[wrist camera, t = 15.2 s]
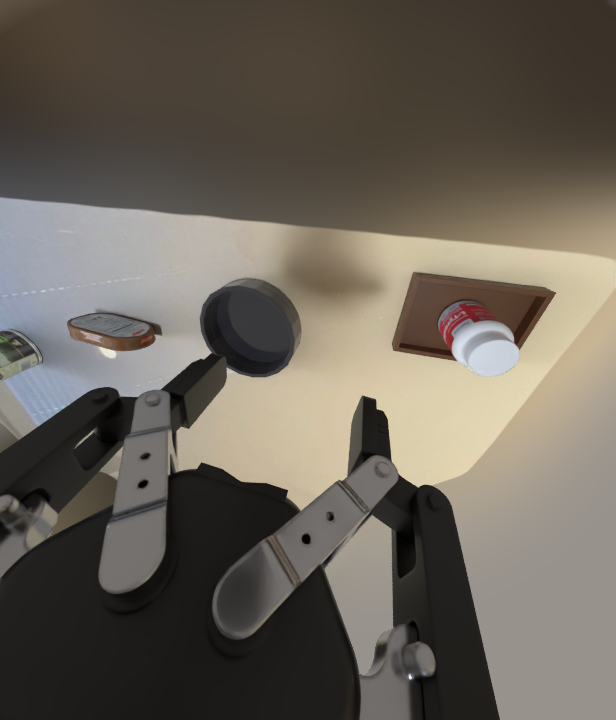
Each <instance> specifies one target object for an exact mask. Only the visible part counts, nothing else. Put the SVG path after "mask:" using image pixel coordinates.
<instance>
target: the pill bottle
mask: <svg viewBox="0 0 616 720" xmlns="http://www.w3.org/2000/svg"><path fill="white" fill-rule="evenodd" d="M438 328H439V331H440V333H441V335H442V337H443V338H444V340H445V342H446V344H447V345H448V347H449V349H450V351H451V352H452V354H453V356H454V357H455V359H456V360H457V361H458V362H459V363H460V364H462V365H464V366H466V367H469V368H470V370H471V371H472V372H474V373H475V374H477V375H480V376H484V377H493V376H498V375H501V374H504V373H506V372H508V371H509V370H511V369H512V368H513V367H514V366H515V365H516V364H517V362H518V360H519V357H520V351H519V349H518V347H517V346H516V345H515V344H514V336H513V333H512V332H511V330H510V329H509V328H508V327H507V326H506V325H505V324H504V323H502V322H501V321H500V320H499V319H498V318H497V317H495V316H494V315H493V314H492V313H491V312H490V311H488V310H487V309H486V308H485V307H484V306H482V305H481V304H479V303H477V302H475V301H460V302H456V303H454V304H452V305H450V306H449V307H448V308H446V309H445V310H444V311H443V313H442V314H441V316H440V318H439V321H438Z"/></svg>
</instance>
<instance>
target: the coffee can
mask: <svg viewBox="0 0 616 720" xmlns="http://www.w3.org/2000/svg"><path fill="white" fill-rule="evenodd" d="M41 362H42V356H41V354H40V351H39V350H38V349H37V347H36V346H35V345H34V344H33V343H32V342H31V341H30V340H29V339H28V338H27V337H25V336H24V335H22V334H21V333H19V332H17V331H15V330H11V329H6V330H4V331H1V332H0V381H3V380H5V379H7V378H9V377H11V376H14V375H16V374H18V373H20V372H22V371H24V370H27V369H29V368H31V367H33V366H35V365H38V364H40V363H41Z"/></svg>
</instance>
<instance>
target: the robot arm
mask: <svg viewBox="0 0 616 720" xmlns="http://www.w3.org/2000/svg"><path fill="white" fill-rule="evenodd" d="M226 378H227V370H226V357H225V356H221V355H218V354H214V353H211V354H210V355H209V356H208V357H207V358H205V359H204V360H203V359H200V360H197V361H195V362H193V363H191V364H190V365H189V366H188V367H187V368H186V369H184V370H183V371H182V372H181V373H180V374H178V375H177V376H176V377H175V378H174V379H173V380H171V381H170V382H169V383H168V384H167V385H166V386H164V387H163V388H162V389H161V390H151V391H148V392H145V393H143V394H141V395H140V396H139V397H120V395H119V393H118V391H117V390H116V389H114V388H110V387H103V388H97V389H94V390H91V391H89V392H87V393H86V394H84V395H83V396H81V397H80V398H78V399H77V400H76V401H74V402H73V403H71V404H70V405H68V406H67V407H66V408H64V409H63V410H61V411H60V412H59V413H57V414H56V415H54V416H53V417H51V418H50V419H49V420H47V421H46V422H44V423H43V424H41V425H40V426H39V427H37V428H36V429H34V430H33V431H31V432H30V433H29V434H27V435H26V436H24V437H23V438H21V439H20V440H19V441H17V442H16V443H14V444H13V445H11V446H10V447H9V448H7V449H6V450H4V451H3V452H1V453H0V720H500V718H499V714H498V710H497V705H496V701H495V696H494V692H493V687H492V683H491V678H490V674H489V670H488V665H487V661H486V656H485V652H484V647H483V643H482V638H481V634H480V630H479V626H478V621H477V616H476V612H475V608H474V603H473V599H472V594H471V590H470V585H469V581H468V577H467V572H466V567H465V563H464V559H463V554H462V550H461V545H460V541H459V536H458V532H457V527H456V524H455V519H454V514H453V510H452V506H451V504H450V502H449V500H448V499H447V497H446V496H445V495H444V494H443V493H442V492H441V491H440V490H438V489H437V488H435V487H433V486H430V485H422V486H420V487H419V488H418V487H416V486H415V485H413V484H412V483H410V482H408V481H407V480H405V479H404V478H402V477H401V476H400V475H399V474H398V471H397V468H396V467H395V465H394V464H393V463H392V460H391V450H390V439H389V429H388V419H387V417H386V415H385V413H384V412H383V411H381V410H377V409H376V399H373V398H369V397H366V396H362V397H361V399H360V401H359V404H358V406H357V409H356V411H355V413H354V416H353V420H352V425H351V437H350V450H349V462H348V475H347V478H345V479H344V480H343V481H341V480H338V481H337V482H335V483H334V484H333V485H332V486H330V487H329V488H328V489H327V490H326V491H324V492H323V493H322V494H321V495H320V496H318V497H317V498H316V499H315V500H314V501H312V502H311V503H310V504H309V505H308V506H306V507H305V508H304V509H303V510H302V511H300V509H299V508H298V507H297V506H296V505H295V504H294V503H293V502H292V501H291V500H290V499H288V498H287V493H288V490H286V489H282V488H279V487H276V486H273V485H270V484H267V483H249V482H241V481H239V480H237V479H236V478H235V477H233V476H232V475H230V474H229V473H227V472H226V471H224V470H223V469H220V468H217V467H214V466H211V465H208V464H205V463H202V462H201V464H200V465H199V467H198V468H197V469H189V470H183V471H179V466H178V440H177V430H178V429H179V428H180V427H185V428H188V429H189V428H190V427H191V426H192V424H193V423H194V422H195V421H196V420H197V418H198V417H199V416H200V415H201V413H202V412H203V411H204V410H205V409H206V407H207V406H208V405H209V404H210V403H211V401H212V400H213V399H214V398H215V397H216V395H217V394H218V393H219V392H220V390H221V389H222V388H223V387H224V385H225V382H226ZM92 430H93V431H94V433H93V434H91V435H90V436H89V437H88V438H87V439H86V440H85V441H83V442H82V443H81V444H80V445H79V446H78V447H77V448H75V446H76V445H77V444H78V443H79V442H80V441H81V440H82V439H83V438H84V437H85V436H87V435H88V434H89V433H90V432H91V431H92ZM123 445H124V446H123ZM122 446H123V452H122V458H121V464H120V470H119V476H118V482H117V488H116V495H115V501H114V504H113V505H111V506H109V507H107V508H105V509H103V510H101V511H99V512H97V513H95V514H93V515H91V516H89V517H88V518H86V519H84V520H82V521H80V522H78V523H76V524H74V525H72V526H70V527H68V528H66V529H64V530H62V531H61V532H59V533H57V534H55V535H53V536H51V531H52V530H53V528H54V527H55V525H56V523H57V519H58V515H57V514H58V513H59V512H60V511H61V510H62V509H63V508H64V507H65V506H66V505H67V504H68V503H69V502H70V501H71V500H72V498H74V497H75V496H76V494H77V493H78V492H79V491H80V490H81V489H82V488H83V487H84V486H85V485H86V484H87V483H88V482H89V481H90V480H91V479H92V478H93V477H94V476H95V475H96V474H97V473H98V471H99V470H100V469H101V468H102V467H103V466H104V465H105V464H106V463H107V462H108V461H109V460H110V459H111V458H112V457H113V456H114V455H115V454H116V453H117V452H118V451H119V450H120V448H121V447H122ZM74 448H75V449H74ZM372 515H373V516H375V517H376V518H378V519H379V520H380V521H382V522H383V523H384V524H386V525H387V526H389V527H390V528H391V529H392V578H393V579H392V580H393V581H392V582H393V628H392V629H390V630H388V631H386V632H384V633H383V634H381V636H380V637H379V638H378V640H377V643H376V647H375V654H374V660H373V664H372V666H371V668H370V670H369V671H368V673H367V674H366V675H365V676H363V675H360V674H359V670H358V665H357V660H356V657H355V653H354V650H353V647H352V644H351V642H350V639H349V637H348V634H347V631H346V628H345V626H344V623H343V620H342V617H341V614H340V612H339V609H338V606H337V603H336V601H335V598H334V595H333V593H332V590H331V587H330V585H329V582H328V579H327V576H326V573H325V571H324V570H325V568H326V567H327V566H328V565H329V564H330V563H331V562H332V561H333V560H334V558H335V557H336V556H337V555H338V554H339V553H340V551H341V550H342V549H343V548H344V547H345V545H346V544H347V543H348V542H349V540H350V539H351V538H352V537H353V536H354V535H355V534H356V533H357V532H358V530H359V529H360V528H361V527H362V526H363V525H364V524H365V522H366V521H367V520H368V519H369V518H370V517H371V516H372Z"/></svg>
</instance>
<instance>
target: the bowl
mask: <svg viewBox="0 0 616 720" xmlns="http://www.w3.org/2000/svg"><path fill="white" fill-rule="evenodd" d="M200 325H201V333H202V335H203V338H204V340H205V342H206V345H207V347H208V348H209V349H210V351H211V352H212V353H214V354H218V355H221V356H225V357H226V367H227V368H229V369H231V370H233V371H235V372H237V373H239V374H242V375H246V376H250V377H268V376H271V375H274V374H277V373H279V372H280V371H281V370H282V369H284V368H285V367H286V366H287V365H288V363H289V361H290V360H291V358H292V356H293V354H294V352H295V350H296V348H297V347H298V345H299V342H300V336H301V325H300V320H299V316H298V314H297V311H296V309H295V307H294V306H293V304H292V303H291V301H290V300H289V299H288V298H287V296H286V295H285V294H284V293H282V292H281V291H280V290H279V289H277V288H276V287H274V286H273V285H271V284H269V283H266V282H263V281H260V280H255V279H242V280H237V281H234V282H232V283H230V284H228V285H226V286H224V287H222V288H221V289H219V290H217V291H215V292H214V293H212V294H210V296H209V297H208V299H207V300H206V301H205V303H204V304H203V306H202V311H201V315H200Z"/></svg>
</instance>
